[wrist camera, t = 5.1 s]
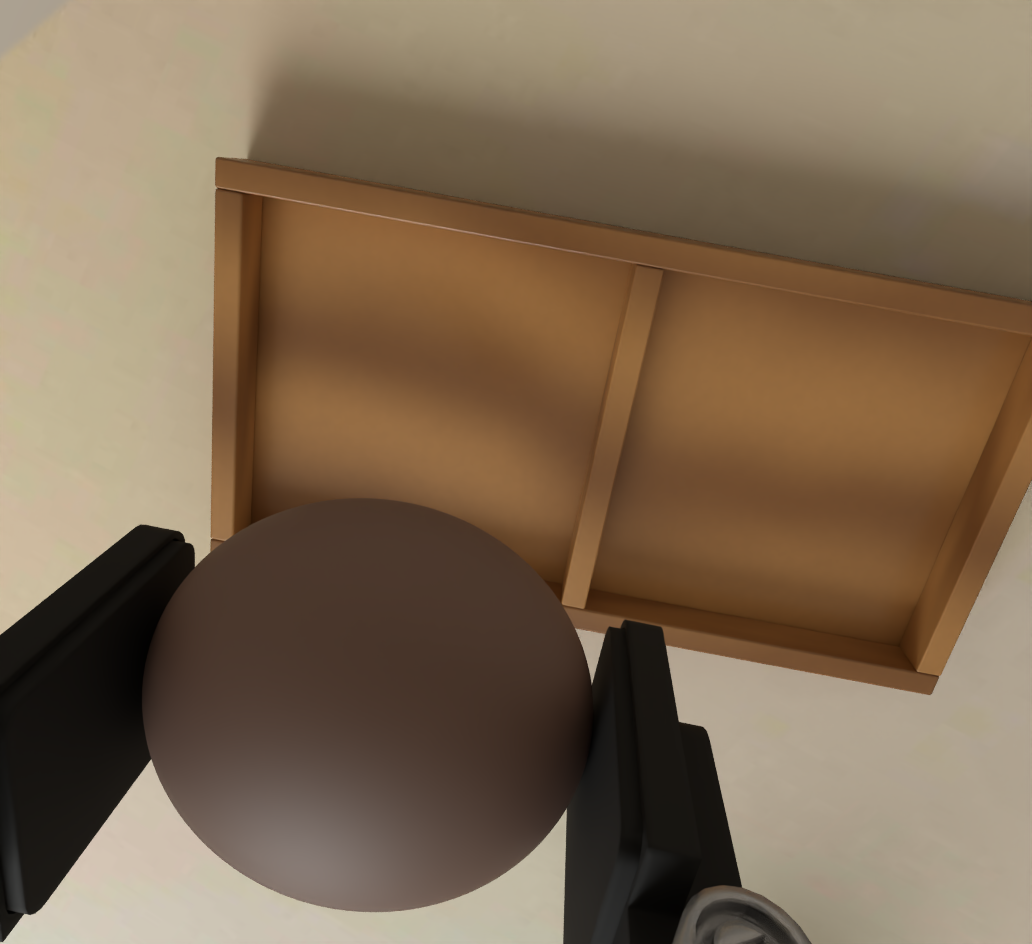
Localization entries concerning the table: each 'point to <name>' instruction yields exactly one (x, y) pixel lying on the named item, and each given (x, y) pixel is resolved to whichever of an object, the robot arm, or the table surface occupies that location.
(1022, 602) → the table surface
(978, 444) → the wooden compartment tray
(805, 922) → the table surface
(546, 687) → the brown rounded dome
